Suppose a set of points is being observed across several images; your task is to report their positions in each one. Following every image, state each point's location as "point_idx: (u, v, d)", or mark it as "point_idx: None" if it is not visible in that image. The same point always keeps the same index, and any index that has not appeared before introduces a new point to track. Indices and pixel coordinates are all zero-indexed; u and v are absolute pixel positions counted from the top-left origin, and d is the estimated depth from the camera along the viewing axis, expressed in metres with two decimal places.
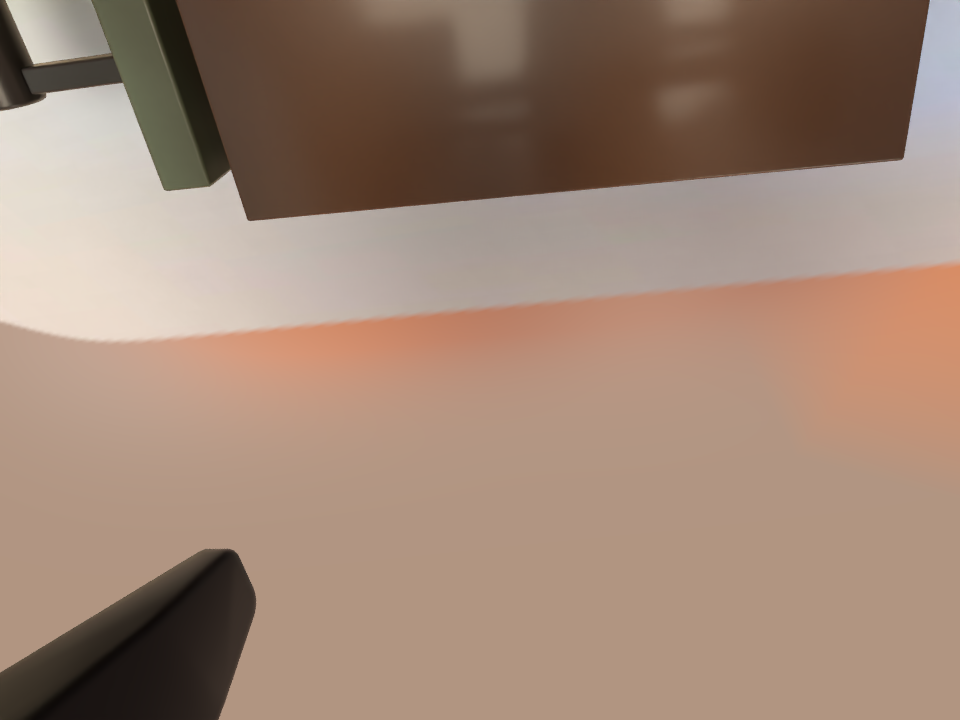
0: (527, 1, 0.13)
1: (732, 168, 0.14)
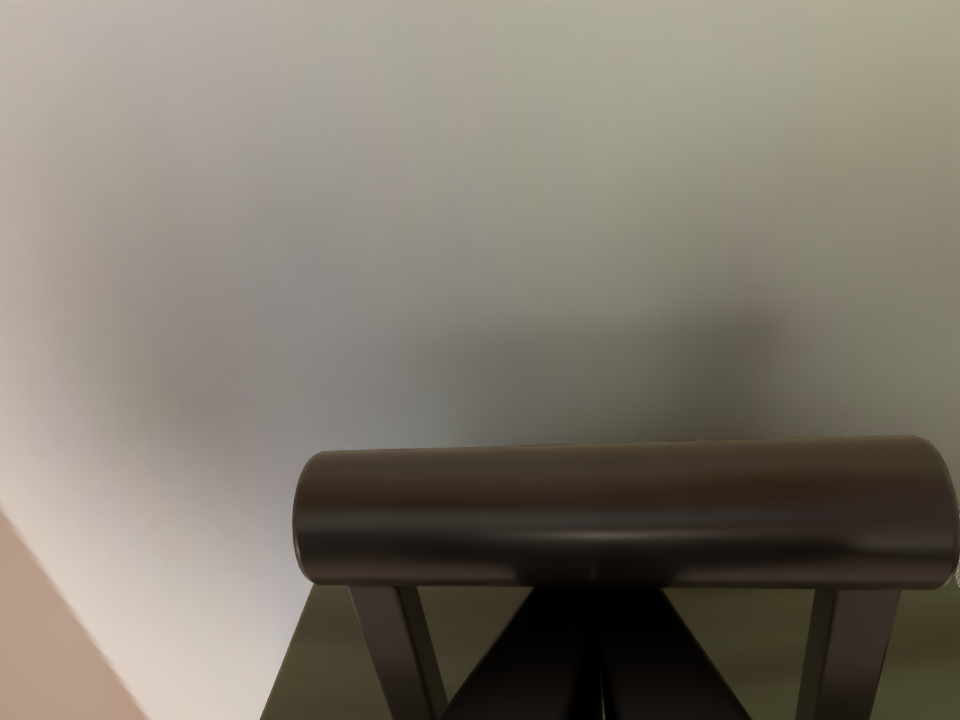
0: None
1: None
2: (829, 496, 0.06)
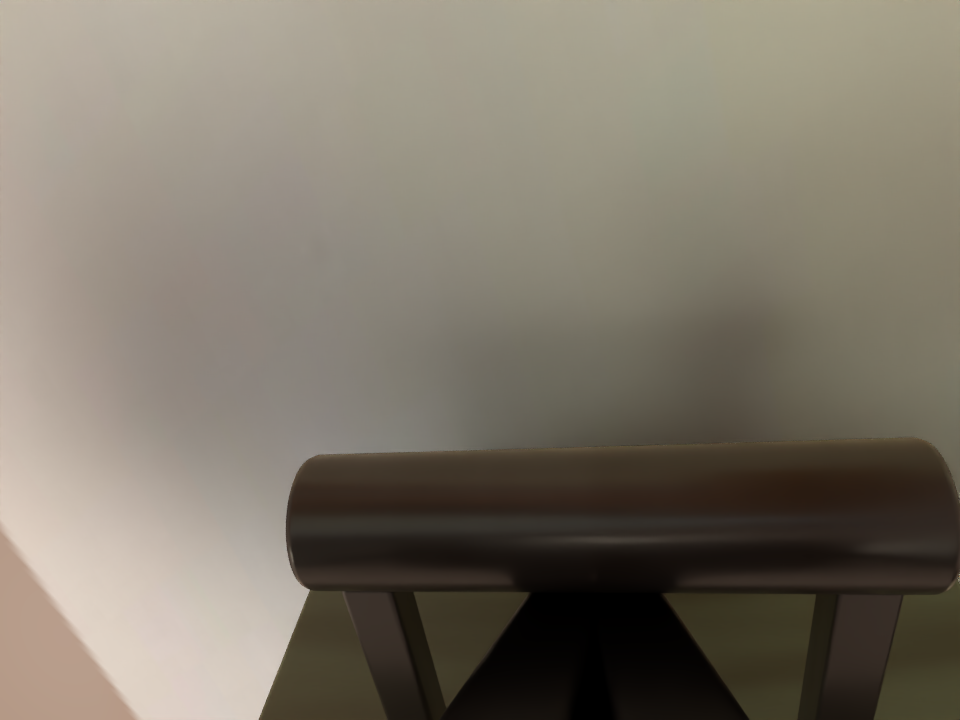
0: None
1: None
2: (829, 500, 0.06)
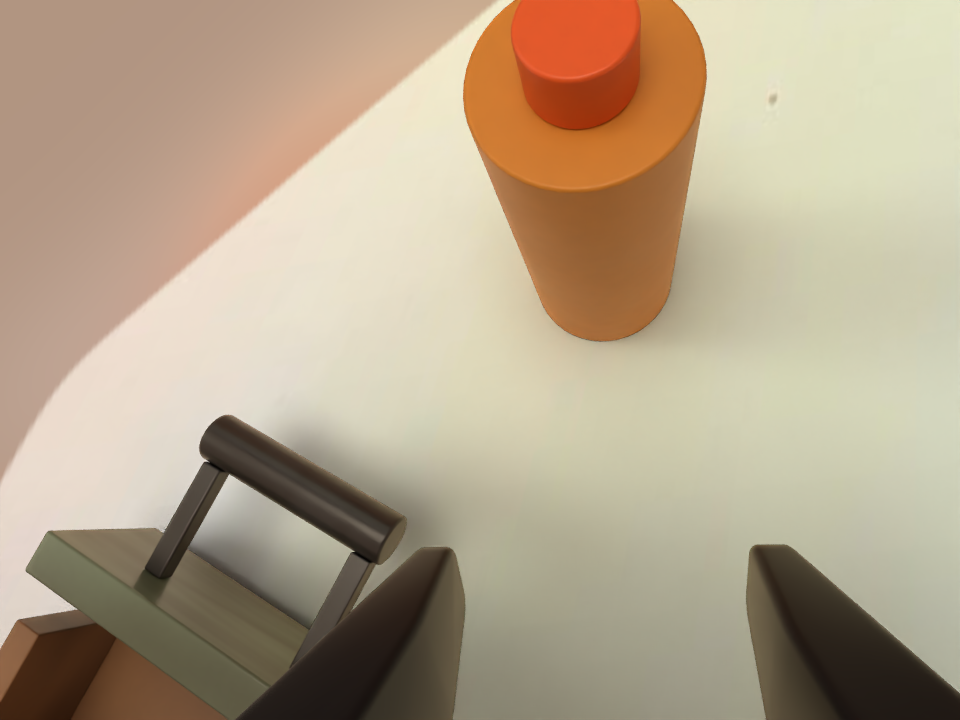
0: None
1: None
2: (366, 502, 0.19)
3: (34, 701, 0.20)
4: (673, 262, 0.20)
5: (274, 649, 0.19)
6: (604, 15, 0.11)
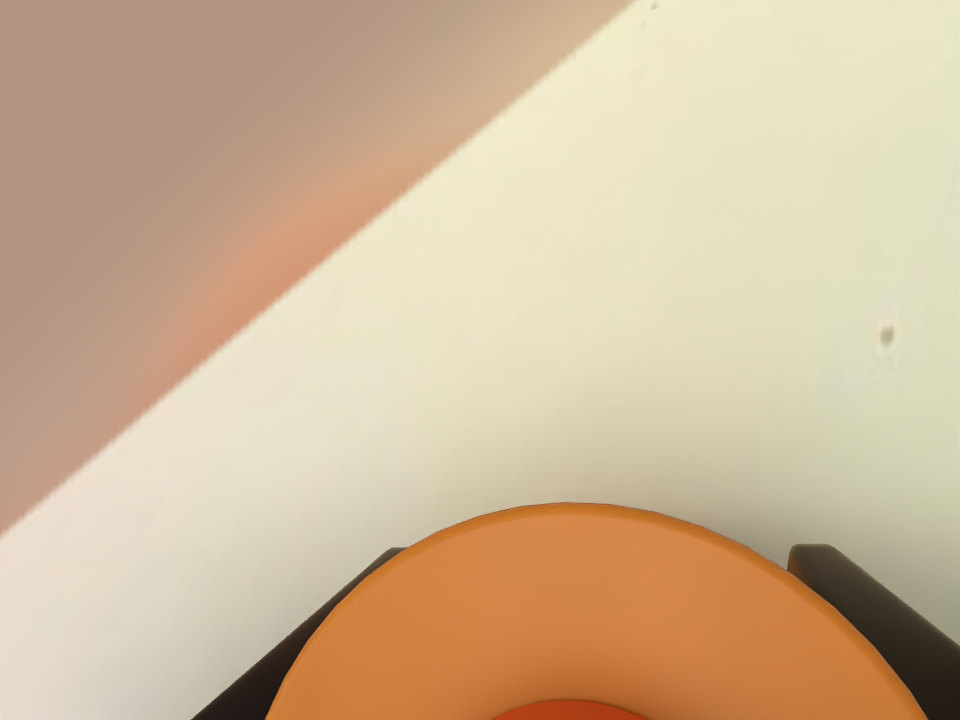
0: None
1: None
2: None
3: None
4: None
5: None
6: None
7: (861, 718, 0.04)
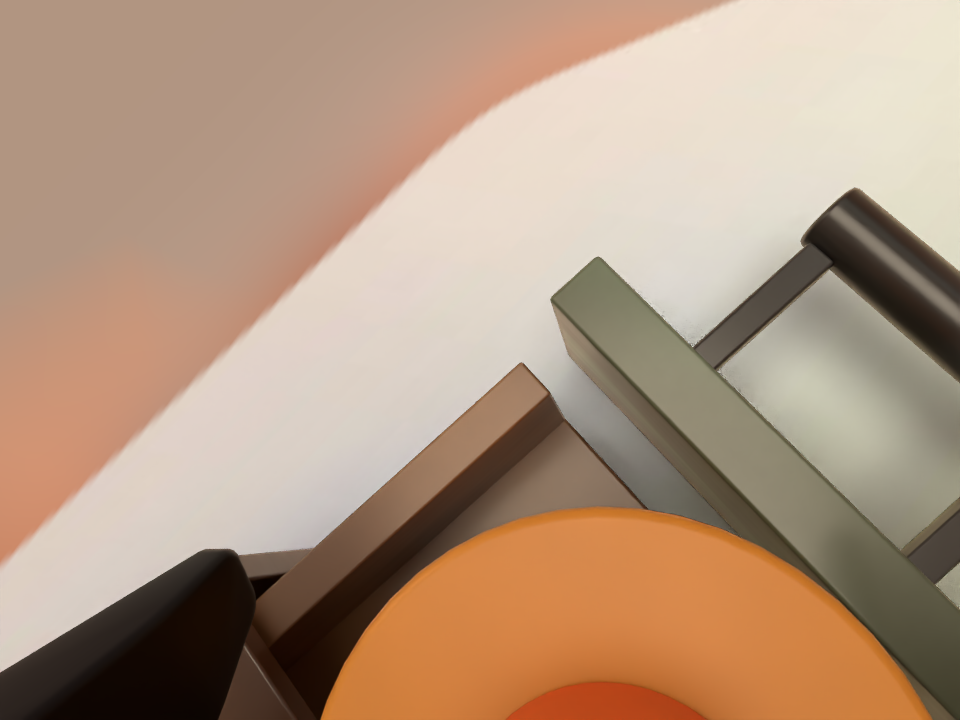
0: None
1: None
2: None
3: (474, 480, 0.14)
4: None
5: None
6: None
7: (861, 697, 0.04)
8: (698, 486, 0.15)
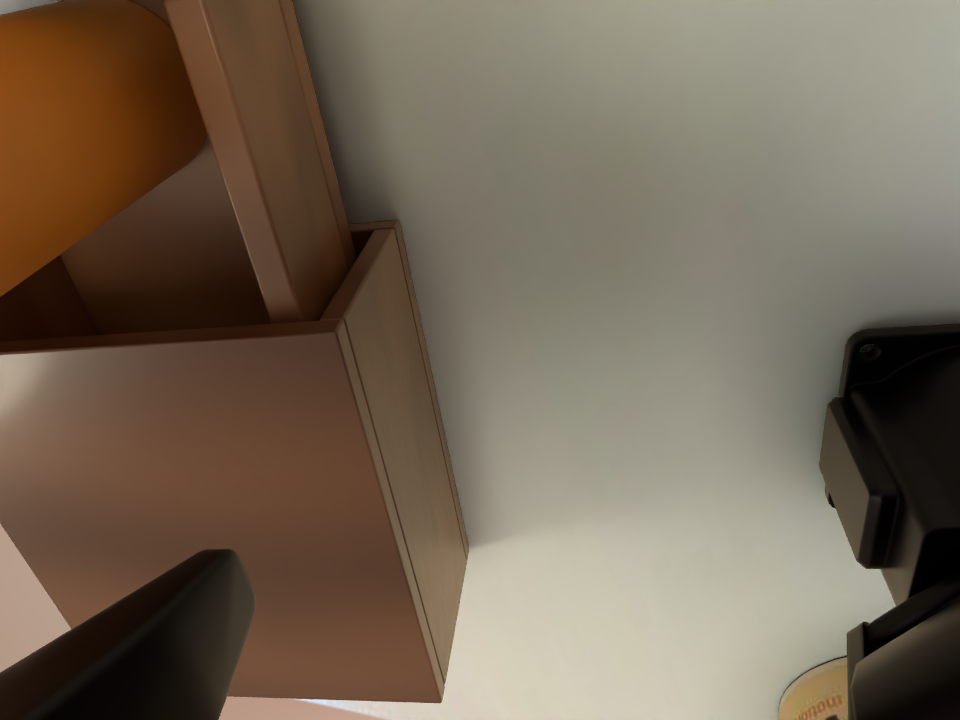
0: (131, 552, 0.20)
1: None
2: None
3: None
4: (104, 71, 0.14)
5: None
6: None
7: None
8: None
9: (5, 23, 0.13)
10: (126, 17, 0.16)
